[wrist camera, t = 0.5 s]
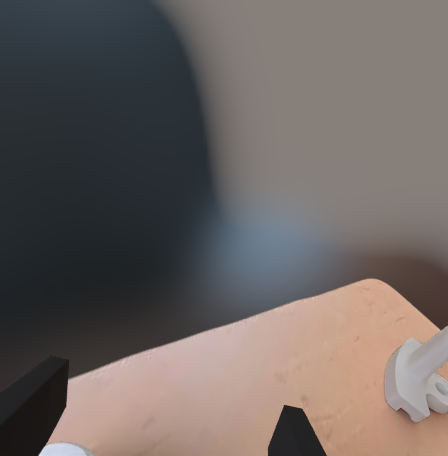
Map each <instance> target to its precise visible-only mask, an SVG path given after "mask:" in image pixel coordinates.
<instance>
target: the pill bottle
mask: <svg viewBox="0 0 448 456" xmlns="http://www.w3.org/2000/svg"><path fill="white" fill-rule="evenodd" d="M39 456H95V454H94V453H93V452H91V451H90V450H89V449H87V448H86V447H84V446H81V445H78V444H73V443H68V442H58V443H53V444H49V445H46V446H45V447H44V448H43V450H42V451H41V453H40V454H39Z"/></svg>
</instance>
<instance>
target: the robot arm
mask: <svg viewBox="0 0 448 456" xmlns="http://www.w3.org/2000/svg"><path fill="white" fill-rule="evenodd" d="M68 370H69V360H67V359H63V358H59V357H54V356H50V357H48V358H46V359H45V360H43V361H42V362H41V363H39V364H38V365H37V366H35V367H34V368H33V369H31V370H30V371H29V372H27V373H26V374H24V375H23V376H22V377H20V378H19V379H17V380H16V381H15V382H13V383H12V384H10V385H9V386H8V387H6V388H5V389H4V390H2V391H1V392H0V456H39V454H40V453H41V451H42V450H43V448H44V447H45V445H46V443H47V442H48V440H49V438H50V436H51V435H52V433H53V431H54V429H55V427H56V425H57V423H58V421H59V419H60V417H61V415H62V413H63V412H64V410H65V408H66V402H67V386H68ZM268 456H327V455H326V453H325V451H324V449H323V447H322V446H321V444H320V442H319V440H318V438H317V436H316V434H315V432H314V430H313V428H312V426H311V424H310V422H309V420H308V418H307V416H306V414H305V412H304V411H303V409H301V408H296V407H292V406H287V405H284V407H283V410H282V412H281V415H280V418H279V420H278V423H277V425H276V428H275V431H274V433H273V436H272V439H271V441H270V444H269V446H268Z"/></svg>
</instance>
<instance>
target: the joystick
mask: <svg viewBox="0 0 448 456" xmlns="http://www.w3.org/2000/svg"><path fill="white" fill-rule="evenodd" d="M447 362H448V326H447V327H445V328H444V329H443V330H442V331H440V332H439V333H438V334H436V335H435V336H434V337H432V338H431V339H430V340H428V341H427V342H426V343H424V344H421V343H420V342H419V341H417V340H416V339H414V338H409V339H408V340H407V341H406V342H405V343H403V344H402V345H401V346H400V347H399V348H398V349H397V350H396V351H395V352H394V353H393V354H392V356H391V357H390V359H389V361H388V364H387V367H386V371H385V383H384V385H385V398H386V401H387V403H388V404H389V405H390V406H391V407H392V408H393V409H395V410H396V411H397V410H398V409H400V408H402V409H403V410H405V411H406V412H407V413H408V414H409V416H410V419H411V420H413V421H414V422H416V423H419V422H420V421H422V420H423V419H425V418H427V417H428V416H430V411H429V408H431V409H432V410H434V411H436V412H438V413H441V414H445V413H447V412H448V381H446V380H445V379H444V378H443V377H441V376H439V375H438V374H436V373H435V372H436V371H437V370H438V369H439V368H441V367H442V366H443V365H444V364H445V363H447Z"/></svg>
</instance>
